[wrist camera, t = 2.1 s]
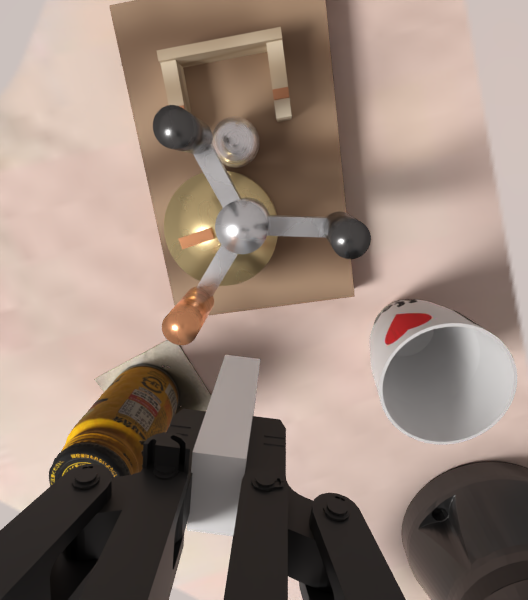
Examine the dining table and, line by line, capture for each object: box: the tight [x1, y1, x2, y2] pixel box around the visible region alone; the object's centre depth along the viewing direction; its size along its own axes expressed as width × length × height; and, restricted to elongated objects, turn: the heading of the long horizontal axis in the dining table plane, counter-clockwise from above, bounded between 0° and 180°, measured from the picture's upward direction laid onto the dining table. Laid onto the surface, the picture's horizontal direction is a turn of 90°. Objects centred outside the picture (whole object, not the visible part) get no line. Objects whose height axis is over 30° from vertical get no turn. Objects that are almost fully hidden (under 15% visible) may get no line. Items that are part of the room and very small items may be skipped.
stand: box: [110, 0, 354, 315], centre depth 30 cm, size 22×14×4 cm, turn 9°
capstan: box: [153, 105, 371, 345], centre depth 26 cm, size 13×12×10 cm
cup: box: [370, 300, 517, 444], centre depth 30 cm, size 8×8×10 cm
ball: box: [212, 116, 259, 168], centre depth 28 cm, size 3×3×3 cm
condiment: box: [49, 340, 211, 486], centre depth 32 cm, size 7×8×12 cm
